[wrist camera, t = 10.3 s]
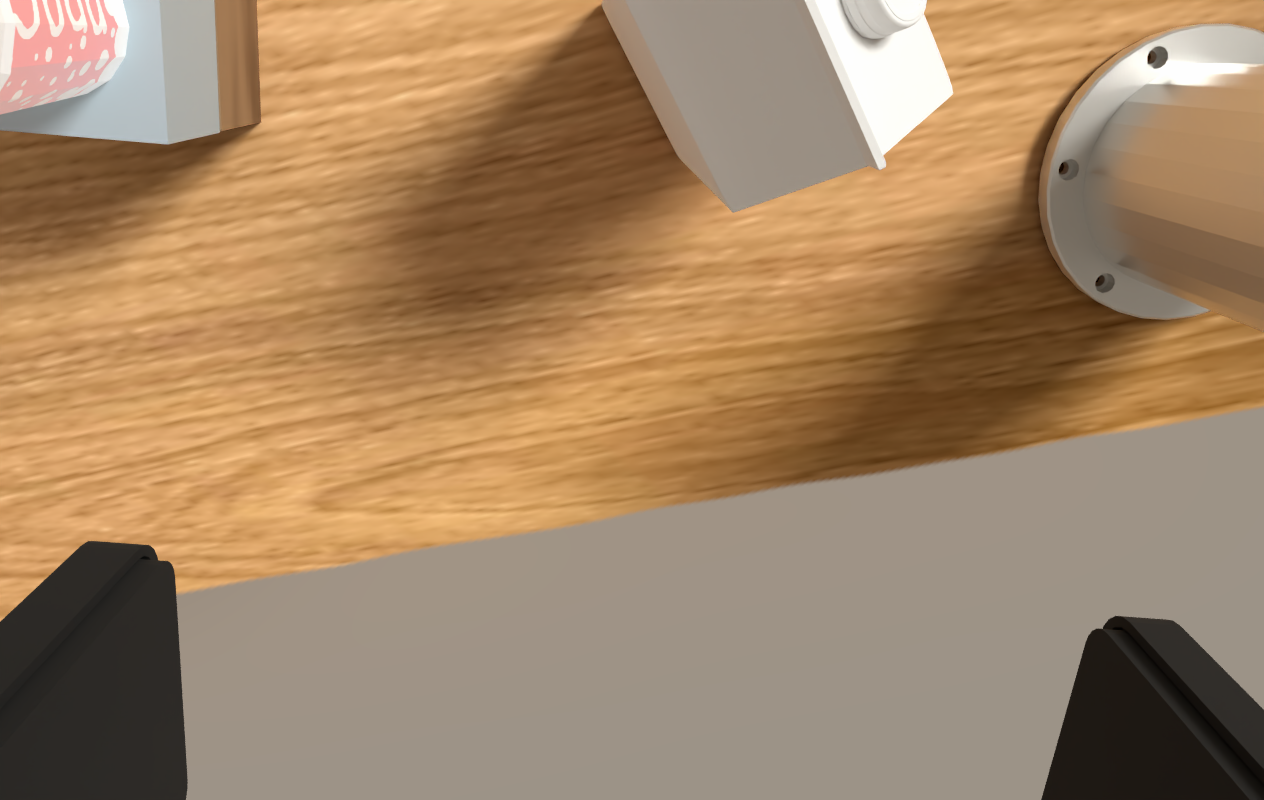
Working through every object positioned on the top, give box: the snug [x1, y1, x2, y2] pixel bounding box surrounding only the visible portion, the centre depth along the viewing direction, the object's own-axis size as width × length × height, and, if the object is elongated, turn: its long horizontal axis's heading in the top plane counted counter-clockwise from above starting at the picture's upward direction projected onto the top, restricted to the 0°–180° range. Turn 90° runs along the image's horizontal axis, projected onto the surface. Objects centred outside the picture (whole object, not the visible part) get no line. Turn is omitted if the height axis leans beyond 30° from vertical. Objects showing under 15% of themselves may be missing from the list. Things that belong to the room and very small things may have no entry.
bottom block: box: [214, 0, 261, 131], centre depth 38 cm, size 7×7×5 cm
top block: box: [0, 0, 220, 144], centre depth 33 cm, size 7×7×5 cm
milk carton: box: [602, 0, 953, 212], centre depth 32 cm, size 7×7×19 cm
